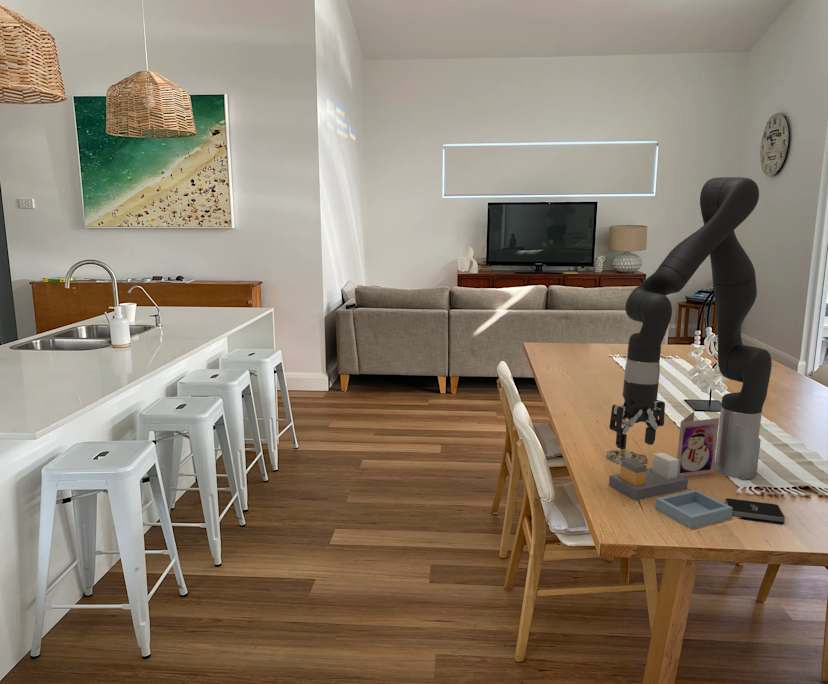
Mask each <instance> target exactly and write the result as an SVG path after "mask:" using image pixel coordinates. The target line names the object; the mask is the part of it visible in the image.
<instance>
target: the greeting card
mask: <svg viewBox="0 0 828 684" xmlns="http://www.w3.org/2000/svg"><path fill="white" fill-rule="evenodd" d="M694 418H695V411H693V412H692V413H690V414H689V415H688V416H686V417H685V418H684V419H683V420H681V421H680V426H679V434H678V435H679V437H678V445H677V446H678V447H677V458H676V459H679V461H678V472H677V474H678V475H680V476H682V477H688V476H689V477H691V476H698V475H705V474H713V473H714V471H715V469H714V467H715V458H716V449H717V440H718V431H719V422H720V417H719V418H707V419H699V420H698V419H697V420H696V419H694Z"/></svg>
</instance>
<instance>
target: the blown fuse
mask: <svg viewBox="0 0 828 684" xmlns="http://www.w3.org/2000/svg"><path fill="white" fill-rule="evenodd" d="M646 468H648V467H647V464H642V463H640V462H638V461H636V460H634V459H632V458H630V459H625V460H622V462H621V465H620V473H619V474H620V479H622V480H624V481H626V482H628V483H629V484H631V485H633V486H640V485H645V479H646Z"/></svg>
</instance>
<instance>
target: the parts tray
mask: <svg viewBox="0 0 828 684" xmlns="http://www.w3.org/2000/svg"><path fill="white" fill-rule="evenodd" d="M724 503H725V502H723V501H720V500H718V499H716V498H714V497H712V496H709V495H708V494H706V493H704V492H702V491H700V490H697V489H692V490H691V489H690V490H688V491H683V492H679V493H675V494H673V493H672V494H670V495H665V496H661V497H657V498H655V505H654V506H655V507H654V509H655V510H656V511H658V512H660V513H662V514H663V515H666V516H667V517H669V518H670V519H672V520H675V522H678V523H679V524H681V525H683V526H684V527H686V528H687V529H688V528H689V529H690V530H689V531H694V530H695V531H696V530H699V529H704V527H705V528H707V527H708V526H709V527H712V525H713V526H715V525H716V524H717V525H719V524H720V523H721V524H724V522H725V523H726V522H730V521H732V517H733V516H732V510H733V507H731V506H729V505H726V504H724ZM726 520H727V521H726ZM691 529H692V530H691Z"/></svg>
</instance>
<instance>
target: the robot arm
mask: <svg viewBox="0 0 828 684" xmlns="http://www.w3.org/2000/svg"><path fill="white" fill-rule="evenodd" d="M759 198H760V189H759V186H758V185H757V183H756V182H755V180H753V179H752V178H749V177H742V176H741V177H740V176H737V177H735V176H730V177H729V176H728V177H727V176H725V177H720V176H718V177H712V178H710V179H708V180H707V181H706V182H705V183H704V184H703V186H702V188H701V191H700V195H699V207H700V211H701V213H700V214H701V217H702V222H703V225H702V226H701V227H700V228H699V229H697V230H696V231H695V232H693V233H692V234H690V235H688V236H687V237H686V238H685V239H683V240H682V241H680V242H679V243H678V244H677V245H675V246H674V248H673V249H672V250H670V251H669V253H668V254H667V255H666V257H665V258H664V259H663V261H662V262H661V263H660V265H659V266H658V268H657V269H656V270H655V271H654V272H653V273H652V274H651V275H649V276H648V277H647V278H645V279H644V281H642V282H641V283H640V284H639V285H638V286H636V287H635V288H634V289H633V291H631V293H630V294H629V295H628V297H627V300H626V302H625V305H624V308H625V313H626V316H627V317H628V318H629V319H631V320H632V321H636V322H638V323H639V322H640V323H642V325H641V327H640V331H639V332H635V333H632V334H631V335H630V336H629V338H628V343H627V344H628V346H627V357H626V363H625V367H624V378H623V389H622V397H623V399H624V403H623V404H622V405H618V404H612V407H611V412H610V413H611V414H610V421H609V427H608V428H609V430H611V431H612V432H616V435H615V446H616V447H617V448H618V449H620V450H621V449H622V450H623V449H626V447H627V439H628V438H627V436H628V434H627V432H628V431H629V430H630V428H632V427H634V426H635V424H639V423H641V422H642V423H644V424H645V425H646V427H645V435H644V443H645V444H646V445H648V446H649V445H650V446H651V445H653V446H654V445H655V444H654V443H655V441H656V433H657V429H658V428H659V427H663V426H664V425H665V410H666V402H665V401H662V400H660V399H658V393H659V386H660V385H659V382H660V373H661V372H660V371H661V368H660V363H661V362H660V360H661V353H662V343H663V341H664V338H665V336H666V333H667V330H668V328H669V325H670V322H671V320H672V317H673V316H672V314H673V308H672V307H673V306H672V302H671V301H670V299H669V297H668V295H671V294H677V293H679V292H680V291H682V290H683V288H684V287H685V286H686V284H687V283H688V282H689V281H690V280H691V278H692V276H694V274H695V273H696V271H697V270H698V269H699V268H700V266H701V264H702V263H703V262H704V261H705V260H707V258H708V257H709V259H710V265H711V266H710V267H711V277H712V278H711V279H712V288H713V294H714V296H713V297H714V303H715V311H716V326H717V365H718V369H719V372H720V374H721V375H722V376H723V377H724V378H726V379H728V380H731V381H735V382H739V383H742V385H741V390H740V391H739V392H731V393H725V394H724V395H723V396H722V398H721V405H720V414H719V426H718V435H717V444H716V453H715V462H714V471H715V472H717V473H718V474H720V475H723V476H725V477H730V478H733V479H738V480H750V479H753V478H754V477H755V475H757V473H758V472H757V471H758V466H759V456H760V449H761V440H762V439H761V438H760V430H761V423H762V415H763V414H762V413H763V409H764V408H763V407H764V404H765V401H766V398H767V395H768V388H769V384H770V378H771V375H772V373H771V372H772V366H773V363H772V362H773V361H772V356H771V353H770V352H769V351H768V350H766V349H764V348H761V347H756V346H752V345H751V346H750V345H747V344H743V341H742V332H741V331H742V325H743V322H744V320H745V318H746V317H747V315H748V314H749V313H750V311H751V309H752V308H753V306H754V304H755V301H756V299H757V296H758V295H757V294H758V291H757V289H758V287H757V278H756V270H755V267H754V264H753V262H752V260H751V259H750V257H749V255H748V254H747V252H746V250H745V249H744V248H743V246H742V245H741V243H740V242H739V239H738V238H737V236H736V233H735V229H738V227H739V226H740V225H741V224H742V223H743V222H744V221H745V220H746V219H747V218H748V217H749V216H750V215H751V214H752V213H753V211H754V210H755V209H756V207H757V205H758V202H759V200H760V199H759ZM626 419H627V420H626Z"/></svg>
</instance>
